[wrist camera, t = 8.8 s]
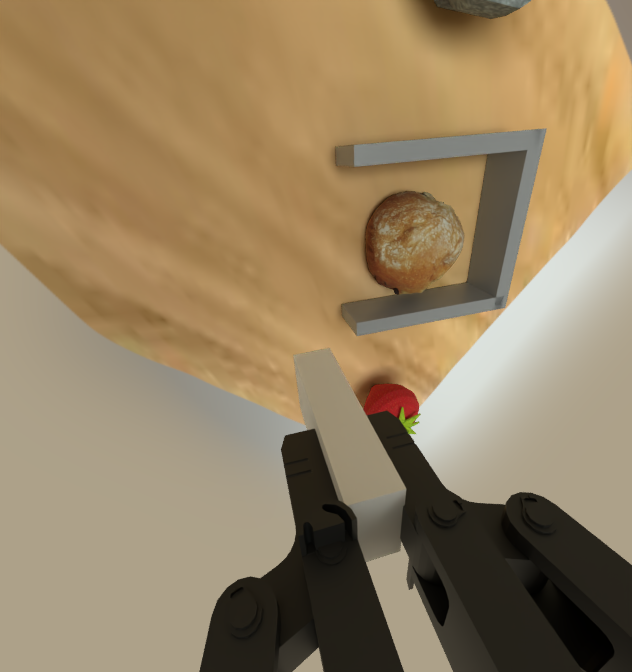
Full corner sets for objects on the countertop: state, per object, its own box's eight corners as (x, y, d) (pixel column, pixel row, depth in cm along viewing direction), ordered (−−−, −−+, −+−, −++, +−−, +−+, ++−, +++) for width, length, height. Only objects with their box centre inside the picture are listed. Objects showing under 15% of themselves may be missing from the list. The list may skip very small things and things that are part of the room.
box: (335, 146, 30) (354, 144, 25) (504, 132, 32) (546, 128, 28) (342, 316, 38) (356, 336, 34) (475, 292, 41) (504, 307, 37)
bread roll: (434, 211, 39) (487, 184, 31) (430, 298, 39) (482, 293, 31) (356, 200, 36) (393, 166, 28) (353, 294, 36) (389, 286, 29)
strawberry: (339, 397, 44) (367, 455, 35) (378, 356, 42) (417, 407, 34) (368, 414, 47) (400, 472, 38) (405, 377, 45) (448, 428, 36)
